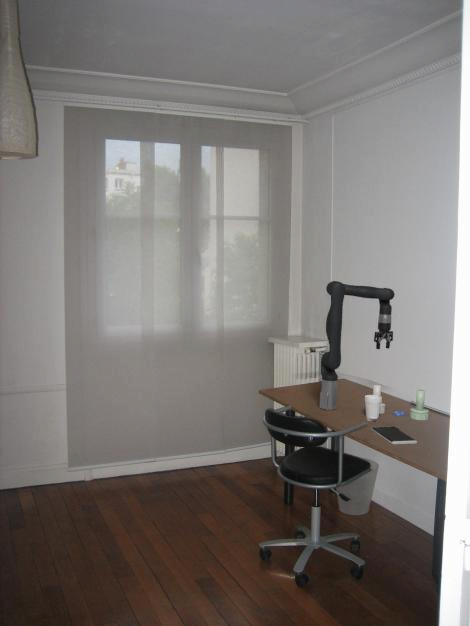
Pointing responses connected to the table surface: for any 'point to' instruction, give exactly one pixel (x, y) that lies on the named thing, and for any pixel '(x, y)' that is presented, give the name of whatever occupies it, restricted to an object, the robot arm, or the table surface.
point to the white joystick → (378, 392)
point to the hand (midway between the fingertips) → (382, 348)
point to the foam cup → (372, 406)
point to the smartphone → (394, 435)
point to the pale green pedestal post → (419, 407)
